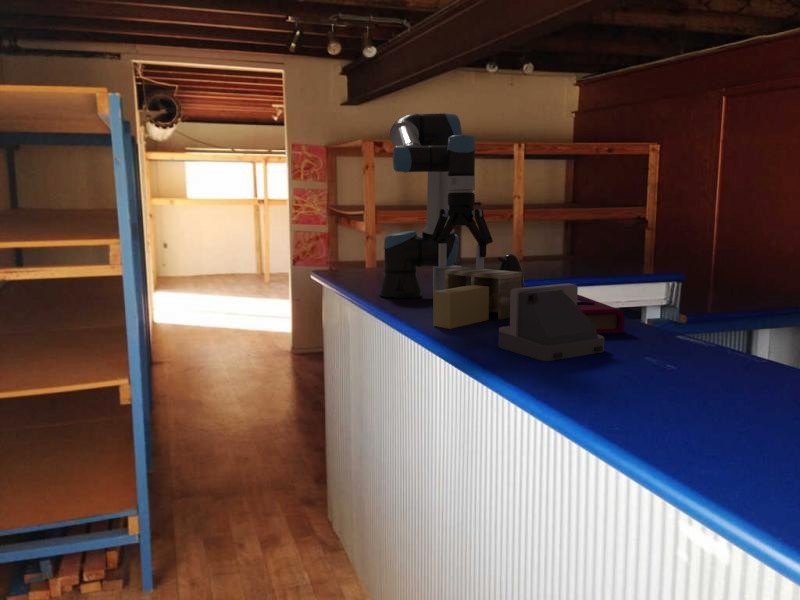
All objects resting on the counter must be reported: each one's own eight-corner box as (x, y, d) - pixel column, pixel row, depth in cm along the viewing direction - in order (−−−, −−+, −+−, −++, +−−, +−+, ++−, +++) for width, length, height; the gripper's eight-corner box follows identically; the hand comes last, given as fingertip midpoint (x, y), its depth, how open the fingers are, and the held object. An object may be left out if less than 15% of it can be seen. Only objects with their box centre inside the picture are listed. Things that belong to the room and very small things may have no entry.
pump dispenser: (489, 295, 252) (490, 253, 250) (513, 293, 257) (514, 252, 254) (505, 298, 243) (505, 255, 241) (529, 296, 248) (530, 254, 245)
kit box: (433, 326, 194) (433, 291, 192) (472, 317, 207) (472, 284, 205) (449, 329, 190) (449, 293, 188) (488, 320, 203) (489, 286, 201)
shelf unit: (445, 311, 217) (445, 269, 215) (465, 307, 225) (465, 267, 223) (501, 319, 203) (501, 275, 201) (520, 315, 210) (521, 272, 208)
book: (582, 316, 209) (583, 292, 207) (624, 335, 181) (625, 306, 180) (515, 319, 206) (515, 293, 205) (547, 338, 178) (548, 309, 177)
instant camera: (564, 338, 177) (566, 280, 174) (615, 355, 158) (618, 290, 155) (490, 345, 170) (491, 284, 167) (535, 363, 150) (536, 296, 148)
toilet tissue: (429, 291, 263) (429, 265, 261) (458, 290, 266) (458, 264, 265) (438, 295, 252) (438, 268, 251) (469, 293, 256) (469, 267, 254)
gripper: (419, 192, 198) (419, 265, 201) (489, 191, 181) (488, 271, 184) (436, 192, 204) (436, 263, 207) (505, 191, 186) (504, 269, 190)
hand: (460, 267), depth 195 cm, fingers open, 13 cm apart
